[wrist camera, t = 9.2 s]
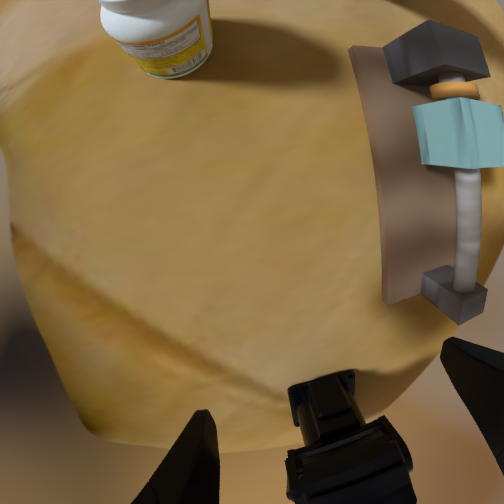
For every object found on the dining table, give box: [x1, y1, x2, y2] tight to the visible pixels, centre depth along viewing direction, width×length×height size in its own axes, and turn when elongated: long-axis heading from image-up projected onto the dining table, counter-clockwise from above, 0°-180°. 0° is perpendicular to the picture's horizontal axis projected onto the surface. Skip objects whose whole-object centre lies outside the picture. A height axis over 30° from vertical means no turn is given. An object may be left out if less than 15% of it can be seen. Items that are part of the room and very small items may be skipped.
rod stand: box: [348, 20, 491, 325], centre depth 15 cm, size 20×10×7 cm, turn 11°
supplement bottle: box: [98, 0, 213, 79], centre depth 10 cm, size 5×5×10 cm
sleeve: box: [412, 97, 504, 169], centre depth 13 cm, size 4×5×5 cm
